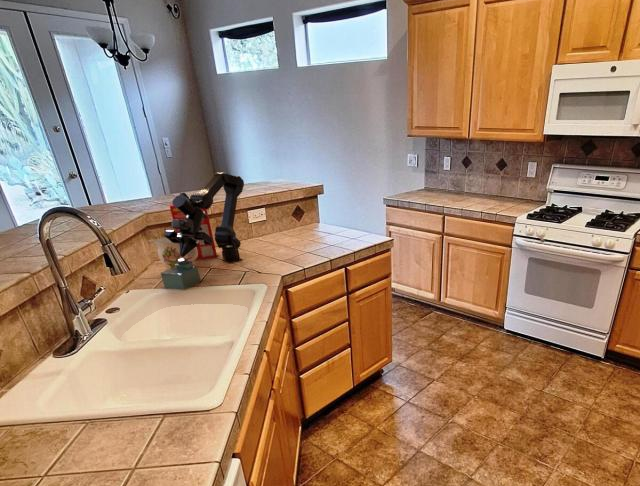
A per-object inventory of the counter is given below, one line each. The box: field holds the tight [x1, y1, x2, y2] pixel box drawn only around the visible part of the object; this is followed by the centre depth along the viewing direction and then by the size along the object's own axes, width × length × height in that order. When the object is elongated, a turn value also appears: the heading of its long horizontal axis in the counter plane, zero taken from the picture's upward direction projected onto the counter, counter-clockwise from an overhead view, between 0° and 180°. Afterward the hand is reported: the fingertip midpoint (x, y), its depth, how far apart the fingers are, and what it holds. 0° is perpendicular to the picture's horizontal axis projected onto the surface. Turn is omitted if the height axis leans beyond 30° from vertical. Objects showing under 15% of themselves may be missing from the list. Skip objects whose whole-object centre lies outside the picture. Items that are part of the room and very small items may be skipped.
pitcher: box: [147, 237, 198, 271], centre depth 186 cm, size 11×18×14 cm, turn 113°
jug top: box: [160, 261, 201, 291], centre depth 170 cm, size 11×9×8 cm
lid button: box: [178, 258, 189, 265], centre depth 170 cm, size 4×4×2 cm
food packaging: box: [169, 203, 218, 261], centre depth 199 cm, size 15×5×25 cm, turn 115°
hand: (181, 256), depth 169 cm, fingers closed
